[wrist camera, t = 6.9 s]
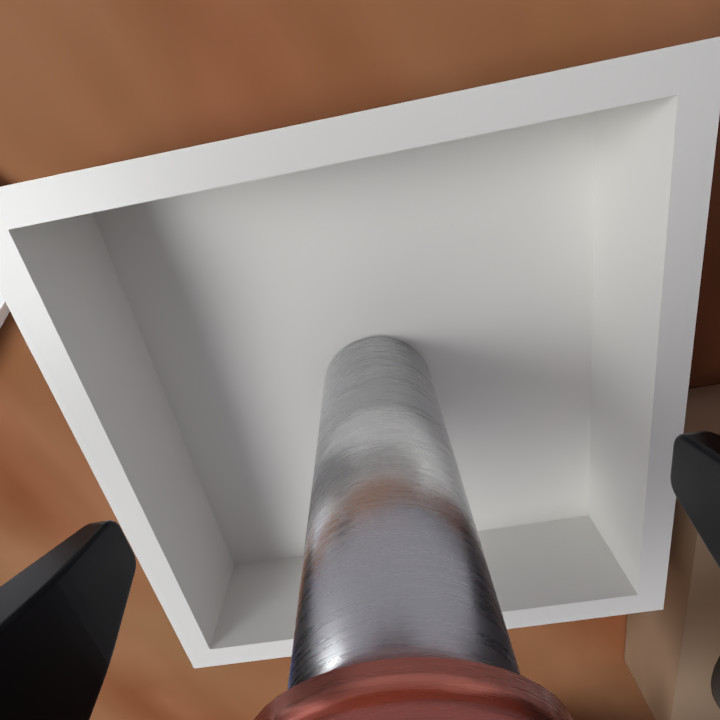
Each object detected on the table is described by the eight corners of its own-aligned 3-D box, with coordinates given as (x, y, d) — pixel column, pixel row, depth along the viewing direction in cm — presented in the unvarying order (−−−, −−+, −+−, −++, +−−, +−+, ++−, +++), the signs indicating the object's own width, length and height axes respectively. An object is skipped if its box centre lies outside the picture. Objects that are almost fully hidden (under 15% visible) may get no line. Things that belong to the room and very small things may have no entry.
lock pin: (437, 310, 10) (618, 719, 3) (451, 429, 12) (601, 900, 5) (294, 335, 11) (171, 768, 3) (325, 449, 12) (281, 926, 5)
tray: (616, 67, 9) (728, 34, 6) (602, 515, 14) (663, 609, 11) (64, 181, 10) (-49, 196, 7) (225, 568, 14) (194, 668, 12)
